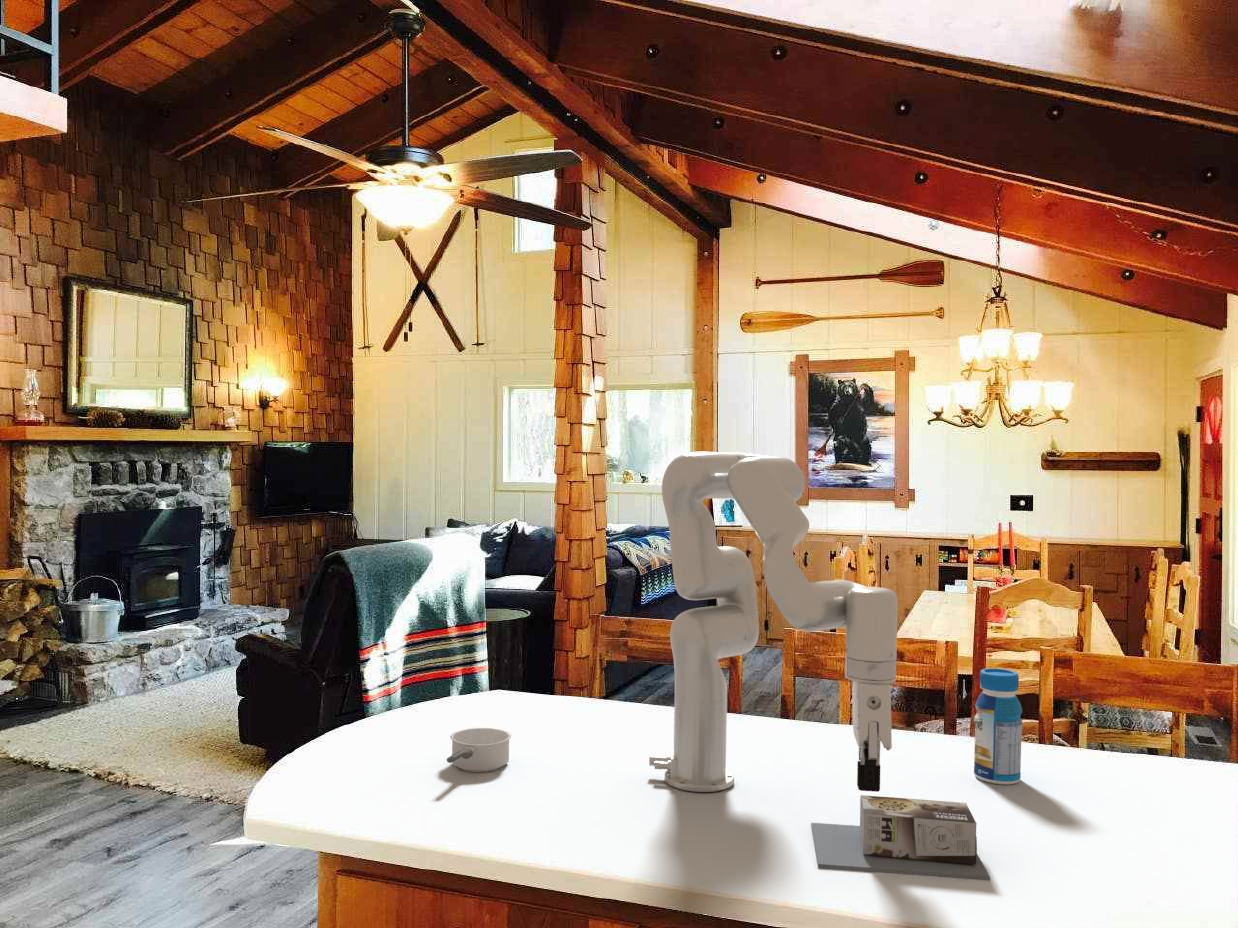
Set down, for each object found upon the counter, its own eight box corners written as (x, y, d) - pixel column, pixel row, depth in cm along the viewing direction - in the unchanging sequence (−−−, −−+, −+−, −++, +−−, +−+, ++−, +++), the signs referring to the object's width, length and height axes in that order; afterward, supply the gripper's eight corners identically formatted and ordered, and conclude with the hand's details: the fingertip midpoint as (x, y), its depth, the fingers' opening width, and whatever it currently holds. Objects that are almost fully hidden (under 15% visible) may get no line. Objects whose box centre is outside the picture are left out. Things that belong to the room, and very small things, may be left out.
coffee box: (862, 856, 145) (977, 866, 142) (863, 812, 145) (977, 822, 142) (859, 834, 154) (967, 843, 151) (860, 793, 154) (968, 801, 151)
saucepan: (419, 786, 173) (419, 755, 173) (464, 753, 193) (464, 725, 193) (479, 793, 170) (480, 761, 170) (519, 758, 190) (519, 730, 190)
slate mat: (817, 867, 142) (818, 863, 142) (811, 825, 158) (811, 822, 158) (989, 879, 139) (989, 876, 139) (965, 835, 155) (965, 832, 155)
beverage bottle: (1016, 789, 177) (1019, 679, 177) (968, 780, 181) (970, 672, 181) (1025, 776, 184) (1027, 670, 184) (978, 767, 189) (980, 664, 188)
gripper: (903, 681, 141) (901, 808, 141) (889, 659, 155) (887, 774, 156) (850, 678, 142) (847, 805, 142) (841, 657, 156) (839, 771, 157)
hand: (868, 788), depth 149 cm, fingers closed
